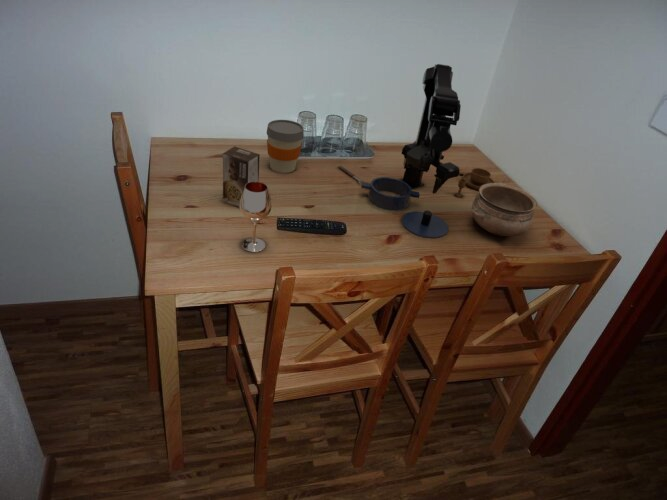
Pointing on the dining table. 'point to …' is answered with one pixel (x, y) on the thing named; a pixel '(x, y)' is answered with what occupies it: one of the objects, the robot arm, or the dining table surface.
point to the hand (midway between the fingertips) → (423, 186)
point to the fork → (349, 173)
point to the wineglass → (255, 211)
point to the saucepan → (386, 200)
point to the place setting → (474, 180)
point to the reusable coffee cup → (284, 144)
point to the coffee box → (238, 173)
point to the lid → (425, 224)
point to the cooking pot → (503, 209)
